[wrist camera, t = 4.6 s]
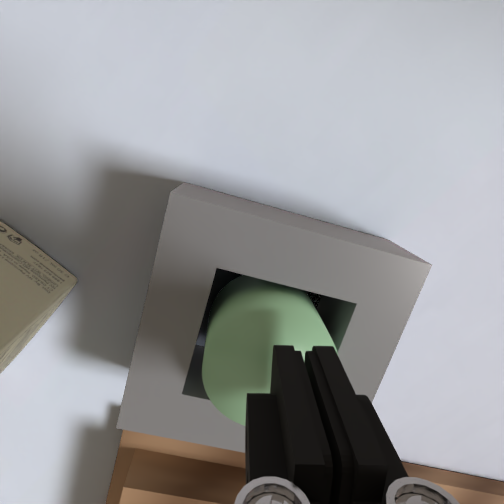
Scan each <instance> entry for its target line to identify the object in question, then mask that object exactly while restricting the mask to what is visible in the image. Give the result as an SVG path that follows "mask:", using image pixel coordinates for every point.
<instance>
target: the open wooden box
mask: <svg viewBox="0 0 504 504" xmlns="http://www.w3.org/2000/svg"><path fill="white" fill-rule="evenodd" d="M402 464H403V466H404V468H405V470H406V472H407V474H408V476H409V477H417V478H421V479H424V480H428V481H430V482H432V483H434V484H436V485H438V486H440V487H442V488H443V489H444V490H446V491H447V492H448V493H450V494H451V495H452V496H453V497H454V498H455V499H456V500H457V501H458V502H459V503H460V504H504V482H502V481H497V480H491V479H486V478H481V477H476V476H471V475H466V474H461V473H456V472H451V471H446V470H441V469H436V468H431V467H426V466H421V465H416V464H411V463H406V462H402ZM245 485H246V469H245V453H243V452H238V451H233V450H228V449H222V448H217V447H212V446H207V445H201V444H196V443H191V442H186V441H180V440H175V439H170V438H165V437H160V436H154V435H149V434H144V433H139V432H133V431H128V430H123V432H122V436H121V440H120V445H119V449H118V453H117V457H116V462H115V466H114V470H113V474H112V479H111V483H110V487H109V491H108V496H107V500H106V504H234V503H235V500H236V497H237V495H238V493H239V492H240V491H241V489H242V488H243V487H244V486H245Z"/></svg>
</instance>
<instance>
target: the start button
mask: <svg viewBox="0 0 504 504" xmlns="http://www.w3.org/2000/svg"><path fill="white" fill-rule="evenodd" d="M274 345H293V346H294V349H295V351H301V353H302V356H303V359H304V360H305V352H306V351H312V347H313V346H333V347H334V348H335V350H336V347H335V345H334V342H333V340H332V338H331V336H330V335H329V333H328V331H327V329H326V327H325V325H324V323H323V321H322V319H321V317H320V316H319V314H318V312H317V310H316V308H315V306H314V304H313V302H312V300H311V299H310V297H309V295H308V294H307V292H306V291H305V290H301V289H298V288H294V287H290V286H286V285H282V284H278V283H274V282H270V281H266V280H262V279H258V278H254V277H251V276H247V275H242V276H240V277H237V278H235V279H234V280H232V281H231V282H229V283H228V284H227V285H226V286H224V287H223V288H222V290H221V291H220V292H219V293H218V294H217V296H216V297H215V299H214V301H213V303H212V306H211V309H210V313H209V319H208V326H207V334H206V341H205V349H204V356H203V364H202V379H203V384H204V388H205V391H206V393H207V395H208V397H209V399H210V401H211V402H212V403H213V405H214V406H215V407H216V408H217V409H218V410H219V411H220V412H221V413H222V414H223V415H225V416H226V417H227V418H229V419H231V420H233V421H234V422H236V423H239V424H241V425H244V426H245V422H246V398H247V393H270V387H271V371H272V355H273V346H274ZM336 352H337V350H336ZM337 355H338V353H337Z"/></svg>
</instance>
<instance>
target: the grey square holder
mask: <svg viewBox="0 0 504 504" xmlns="http://www.w3.org/2000/svg"><path fill="white" fill-rule="evenodd" d="M431 266H432V265H431V264H429V263H428V262H426V261H424V260H423V259H421V258H419V257H417V256H416V255H414V254H412V253H410V252H409V251H407V250H405V249H404V248H402V247H400V246H398V245H397V244H395V243H393V242H392V241H390V240H387V239H384V238H380V237H377V236H373V235H369V234H366V233H362V232H359V231H355V230H352V229H348V228H345V227H341V226H338V225H334V224H331V223H327V222H324V221H320V220H316V219H313V218H309V217H306V216H302V215H299V214H295V213H292V212H288V211H285V210H281V209H278V208H274V207H271V206H267V205H263V204H260V203H256V202H253V201H249V200H246V199H242V198H239V197H235V196H232V195H228V194H225V193H221V192H218V191H214V190H210V189H207V188H203V187H200V186H196V185H193V184H189V183H186V182H184V183H182V184H181V185H179V186H178V187H177V188H175V189H174V190H172V191H171V192H170V195H169V199H168V203H167V208H166V212H165V216H164V221H163V225H162V230H161V234H160V238H159V243H158V247H157V251H156V256H155V260H154V264H153V269H152V273H151V277H150V282H149V286H148V291H147V295H146V299H145V304H144V308H143V312H142V317H141V321H140V325H139V330H138V334H137V338H136V343H135V347H134V352H133V356H132V360H131V365H130V369H129V373H128V378H127V382H126V386H125V391H124V395H123V399H122V404H121V408H120V412H119V417H118V421H117V426H116V428H118V429H123V430H128V431H133V432H139V433H144V434H149V435H154V436H160V437H165V438H170V439H175V440H180V441H186V442H191V443H196V444H201V445H207V446H212V447H217V448H222V449H228V450H233V451H238V452H243V453H245V426H244V425H241V424H239V423H236V422H234V421H233V420H231V419H229V418H227V417H226V416H225V415H223V414H222V413H221V412H220V411H219V410H218V409H217V408H216V407H215V406H214V405H213V403H212V402H211V401H210V399H209V397H208V395H207V393H206V391H205V388H204V384H203V379H202V364H203V356H204V349H205V347H201V346H197V345H195V344H196V341H197V337H198V333H199V330H200V326H201V323H202V319H203V315H204V312H205V308H206V305H207V301H208V297H209V294H210V290H211V286H212V283H213V279H214V276H215V272H216V268H219V269H223V270H227V271H231V272H235V273H239V274H243V275H247V276H251V277H254V278H258V279H262V280H266V281H270V282H274V283H278V284H282V285H286V286H290V287H294V288H298V289H301V290H305V291H309V292H313V293H317V294H321V295H322V296H321V298H320V301H319V304H318V307H317V309H316V310H317V312H318V314H319V316H320V317H321V319H322V321H323V323H324V325H325V327H326V329H327V331H328V333H329V335H330V336H331V338H332V340H333V342H334V345H335V347H336V350H337V353H338V357H339V359H340V361H341V363H342V365H343V368H344V370H345V372H346V374H347V376H348V378H349V381H350V383H351V385H352V387H353V389H354V391H355V394H356V395H366V396H367V397H368V398H369V400H370V401H371V403H372V401H373V399H374V397H375V394H376V392H377V390H378V387H379V385H380V383H381V381H382V378H383V376H384V374H385V371H386V369H387V367H388V365H389V362H390V360H391V358H392V355H393V353H394V351H395V349H396V346H397V344H398V342H399V339H400V337H401V335H402V333H403V330H404V328H405V326H406V323H407V321H408V319H409V316H410V314H411V312H412V310H413V307H414V305H415V303H416V300H417V298H418V296H419V294H420V291H421V289H422V287H423V284H424V282H425V280H426V278H427V275H428V273H429V271H430V268H431Z"/></svg>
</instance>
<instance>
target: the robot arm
mask: <svg viewBox="0 0 504 504" xmlns="http://www.w3.org/2000/svg"><path fill="white" fill-rule="evenodd" d="M245 469H246V485H245V486H244V487H243V488H242V489H241V491H240V492H239V493H238V495H237V497H236V500H235V503H234V504H460V503H459V502H458V501H457V500H456V499H455V498H454V497H453V496H452V495H451V494H450V493H448V492H447V491H446V490H444V489H443V488H442V487H440V486H438V485H436V484H434V483H432V482H430V481H428V480H424V479H421V478H417V477H409V476H408V474H407V472H406V470H405V468H404V466H403V464H402V462H401V460H400V458H399V456H398V454H397V452H396V451H395V449H394V447H393V445H392V443H391V441H390V439H389V437H388V435H387V433H386V431H385V429H384V427H383V425H382V423H381V421H380V419H379V417H378V415H377V413H376V411H375V409H374V407H373V405H372V403H371V401H370V400H369V398H368V397H367V396H366V395H356V394H355V391H354V389H353V387H352V385H351V383H350V381H349V378H348V376H347V374H346V372H345V370H344V368H343V365H342V363H341V361H340V359H339V357H338V355H337V352H336V350H335V348H334V347H333V346H313V347H312V351H306V352H305V360H304V359H303V356H302V353H301V351H295V349H294V346H293V345H274V346H273V355H272V371H271V387H270V393H247V398H246V422H245Z"/></svg>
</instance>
